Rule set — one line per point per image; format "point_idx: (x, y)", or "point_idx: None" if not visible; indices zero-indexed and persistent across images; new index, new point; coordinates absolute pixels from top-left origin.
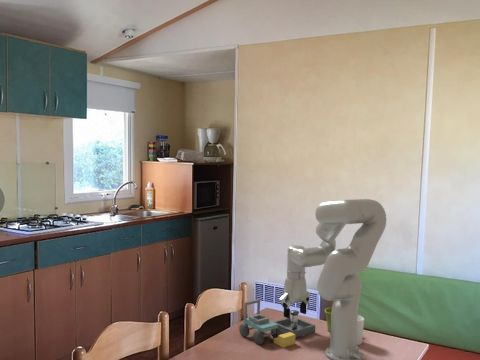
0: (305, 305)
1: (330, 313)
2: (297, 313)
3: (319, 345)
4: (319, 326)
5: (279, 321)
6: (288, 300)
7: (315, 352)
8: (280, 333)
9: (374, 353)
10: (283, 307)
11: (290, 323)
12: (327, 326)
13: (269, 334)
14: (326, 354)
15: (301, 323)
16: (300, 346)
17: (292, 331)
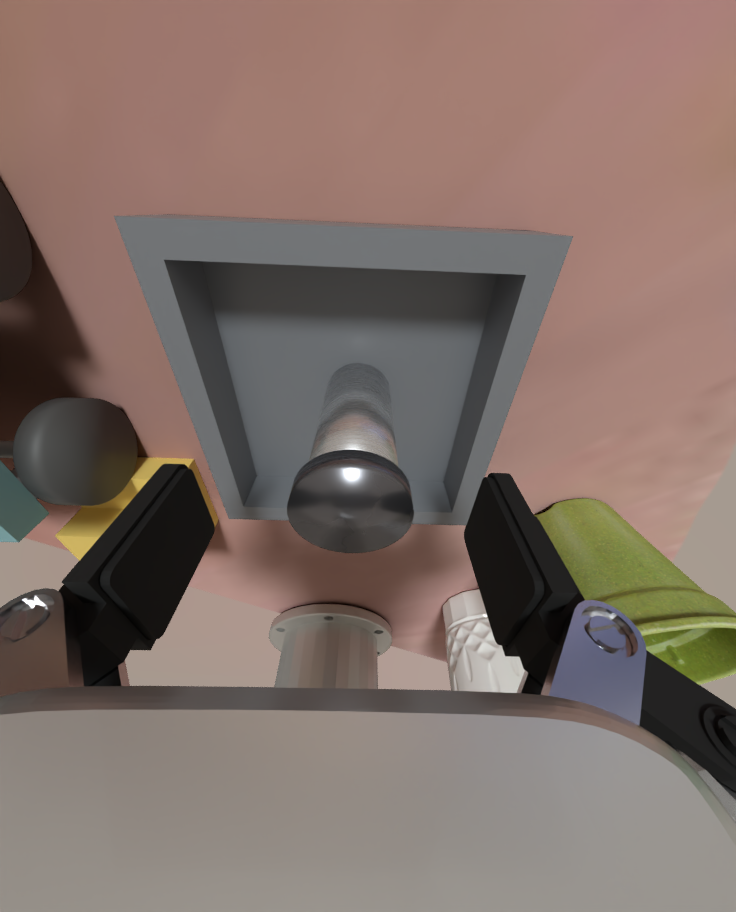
0: (502, 647)
1: (686, 584)
2: (349, 545)
3: (324, 572)
4: (590, 443)
5: (250, 262)
6: (178, 692)
7: (257, 592)
8: (109, 494)
9: (435, 651)
10: (36, 602)
11: (327, 397)
12: (548, 530)
13: (5, 456)
14: (274, 622)
15: (475, 399)
16: (228, 545)
17: (227, 510)
